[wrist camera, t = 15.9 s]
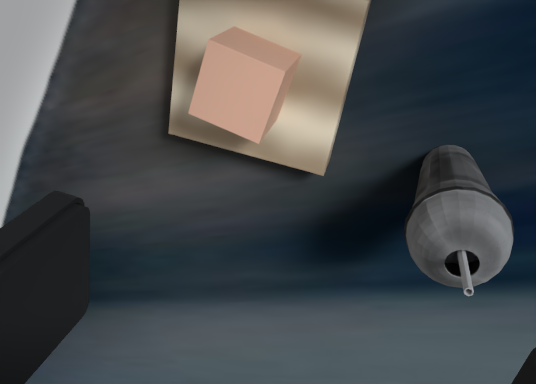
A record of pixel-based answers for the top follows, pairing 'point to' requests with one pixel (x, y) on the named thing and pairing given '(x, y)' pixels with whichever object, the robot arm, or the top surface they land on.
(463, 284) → the beverage cup
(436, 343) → the top surface
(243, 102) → the terracotta cube
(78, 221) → the robot arm
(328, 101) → the maple block
